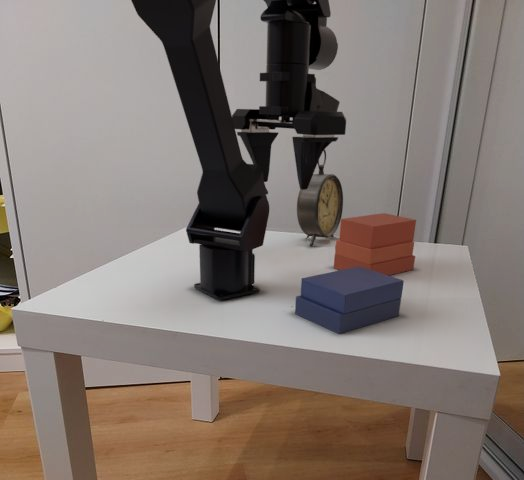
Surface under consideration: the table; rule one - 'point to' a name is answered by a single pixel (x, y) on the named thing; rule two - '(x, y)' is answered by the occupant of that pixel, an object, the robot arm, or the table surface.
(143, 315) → the table surface
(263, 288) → the table surface
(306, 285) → the navy stack
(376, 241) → the rust book
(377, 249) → the rust stack
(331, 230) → the alarm clock
